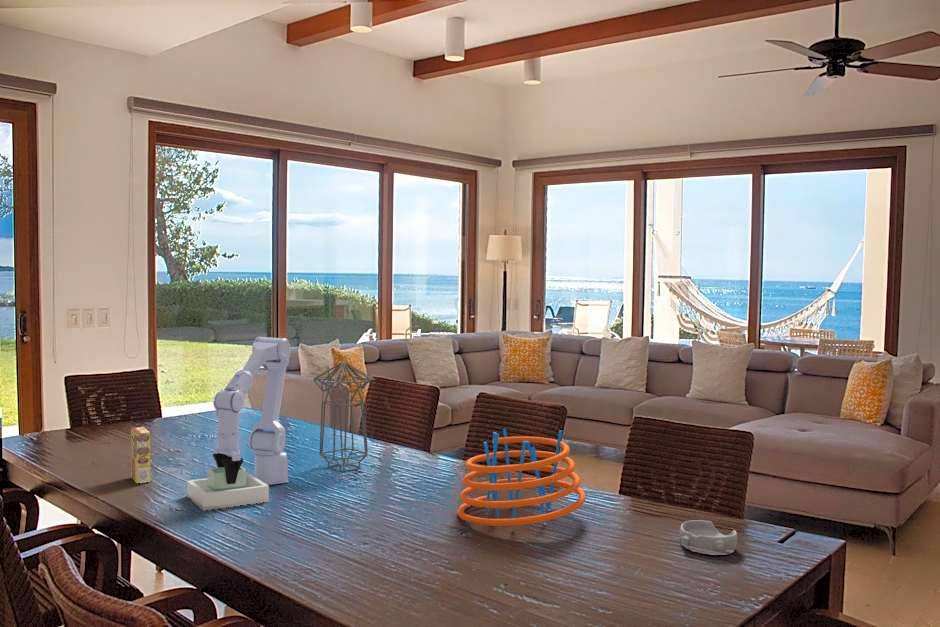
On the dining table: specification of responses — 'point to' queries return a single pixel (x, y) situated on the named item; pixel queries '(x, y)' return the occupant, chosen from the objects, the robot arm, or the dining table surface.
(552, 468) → the toy basket
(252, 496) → the white crate
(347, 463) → the geometric lantern
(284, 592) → the dining table surface
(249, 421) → the dining table surface
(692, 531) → the dish
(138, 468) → the candy box
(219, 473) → the green crate
